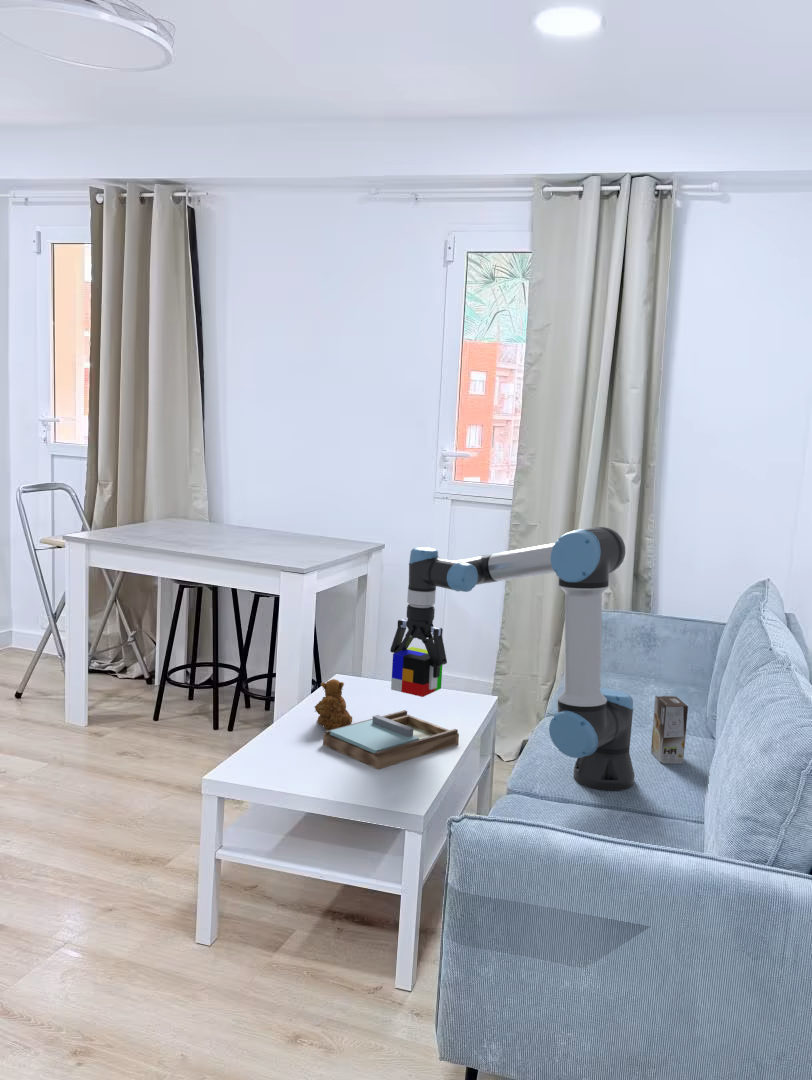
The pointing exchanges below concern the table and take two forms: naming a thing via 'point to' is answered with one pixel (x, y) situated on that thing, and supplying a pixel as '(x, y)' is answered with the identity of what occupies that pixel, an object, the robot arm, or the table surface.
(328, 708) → the brown furry figure
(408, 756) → the wooden box
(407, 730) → the lid
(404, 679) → the puzzle toy
